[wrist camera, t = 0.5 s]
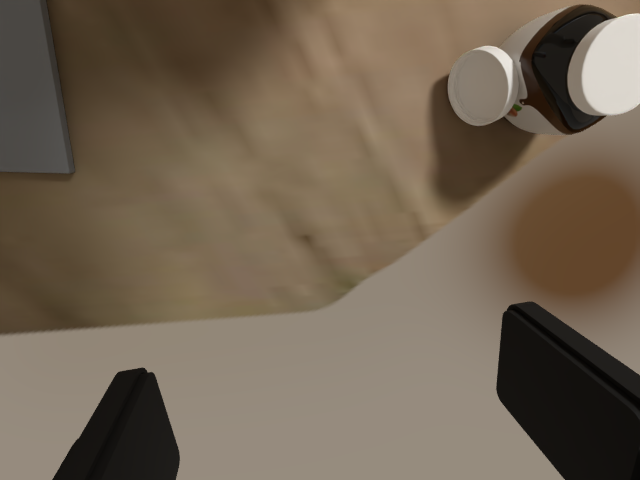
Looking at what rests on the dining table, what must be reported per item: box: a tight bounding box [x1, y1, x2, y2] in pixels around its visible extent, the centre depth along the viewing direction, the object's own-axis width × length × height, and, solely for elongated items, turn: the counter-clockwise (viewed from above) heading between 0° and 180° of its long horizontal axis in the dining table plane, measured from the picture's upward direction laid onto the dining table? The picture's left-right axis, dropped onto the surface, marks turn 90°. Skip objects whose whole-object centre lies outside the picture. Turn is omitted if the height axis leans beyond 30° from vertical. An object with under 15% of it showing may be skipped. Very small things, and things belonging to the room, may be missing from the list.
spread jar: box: [448, 5, 640, 135], centre depth 32 cm, size 12×11×12 cm
